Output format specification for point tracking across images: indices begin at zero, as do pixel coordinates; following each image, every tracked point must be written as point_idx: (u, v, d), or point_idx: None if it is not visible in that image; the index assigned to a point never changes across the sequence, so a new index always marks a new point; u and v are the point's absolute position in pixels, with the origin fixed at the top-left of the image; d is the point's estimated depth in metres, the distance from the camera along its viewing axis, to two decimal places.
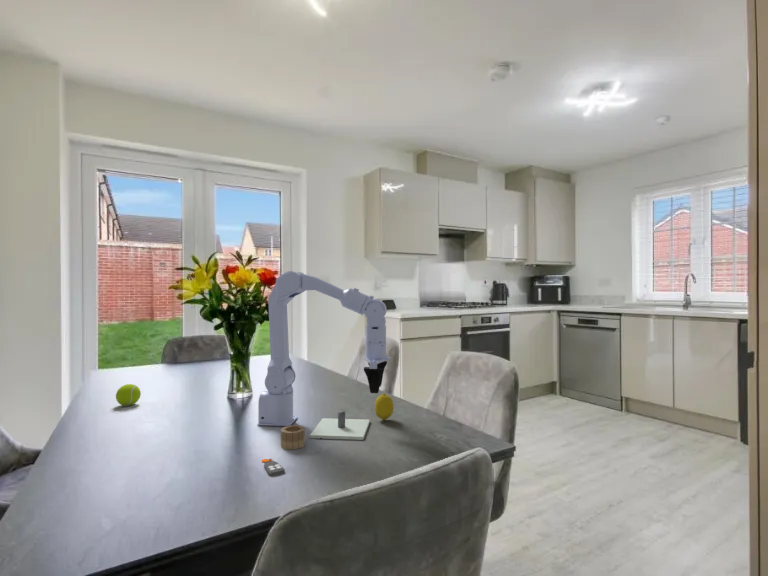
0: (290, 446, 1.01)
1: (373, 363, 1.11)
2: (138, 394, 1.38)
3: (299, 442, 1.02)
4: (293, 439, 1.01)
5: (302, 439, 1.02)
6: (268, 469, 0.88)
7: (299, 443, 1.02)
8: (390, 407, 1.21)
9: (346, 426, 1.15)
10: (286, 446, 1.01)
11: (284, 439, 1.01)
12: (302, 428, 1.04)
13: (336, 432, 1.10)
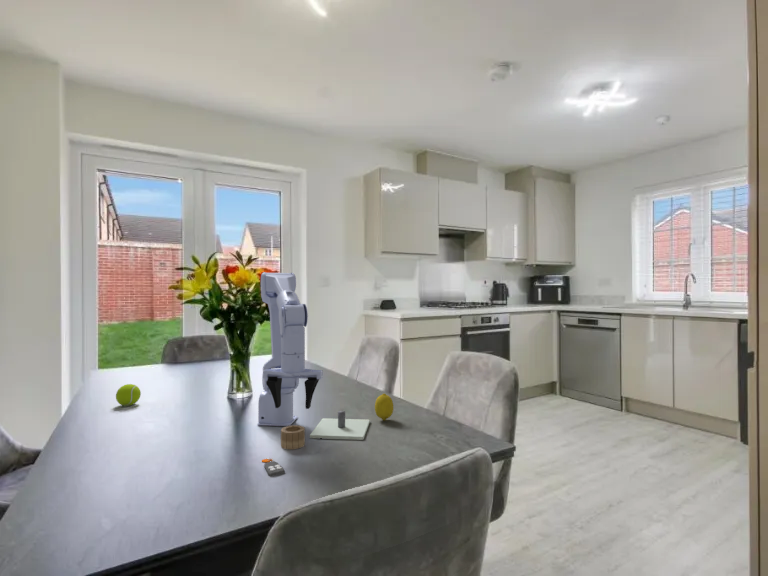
0: (290, 446, 1.01)
1: None
2: (138, 394, 1.38)
3: (299, 442, 1.02)
4: (293, 439, 1.01)
5: (302, 439, 1.02)
6: (268, 469, 0.88)
7: (299, 443, 1.02)
8: (390, 407, 1.21)
9: (346, 426, 1.15)
10: (286, 446, 1.01)
11: (284, 439, 1.01)
12: (302, 428, 1.04)
13: (336, 432, 1.10)
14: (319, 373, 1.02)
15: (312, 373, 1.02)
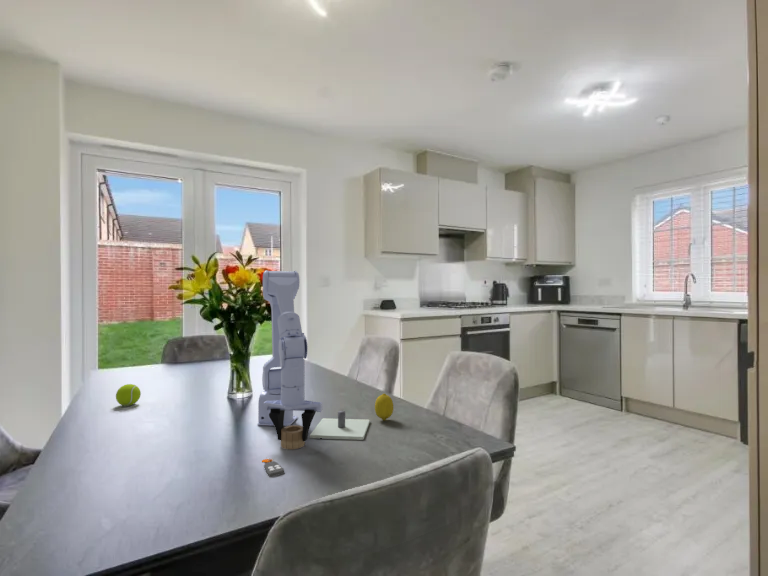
0: (290, 446, 1.01)
1: None
2: (138, 394, 1.38)
3: (299, 442, 1.02)
4: (293, 439, 1.01)
5: (302, 439, 1.02)
6: (268, 469, 0.88)
7: (299, 443, 1.02)
8: (390, 407, 1.21)
9: (346, 426, 1.15)
10: (286, 446, 1.01)
11: (284, 439, 1.01)
12: (302, 428, 1.04)
13: (336, 432, 1.10)
14: (319, 406, 1.02)
15: (312, 406, 1.02)
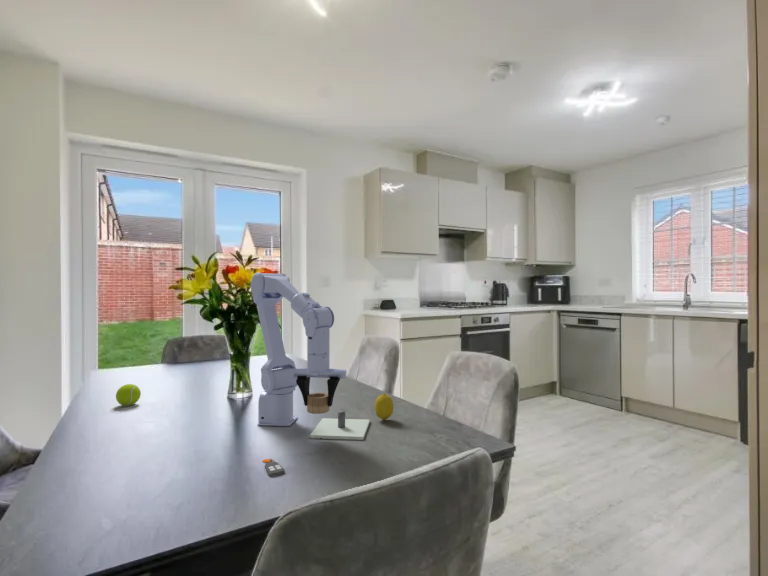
0: (316, 411, 1.06)
1: None
2: (138, 394, 1.38)
3: (324, 407, 1.07)
4: (319, 404, 1.06)
5: (327, 405, 1.08)
6: (268, 470, 0.88)
7: (324, 408, 1.07)
8: (390, 407, 1.21)
9: (346, 426, 1.15)
10: (312, 411, 1.06)
11: (310, 404, 1.07)
12: (327, 395, 1.09)
13: (336, 432, 1.10)
14: (343, 373, 1.07)
15: (337, 373, 1.07)
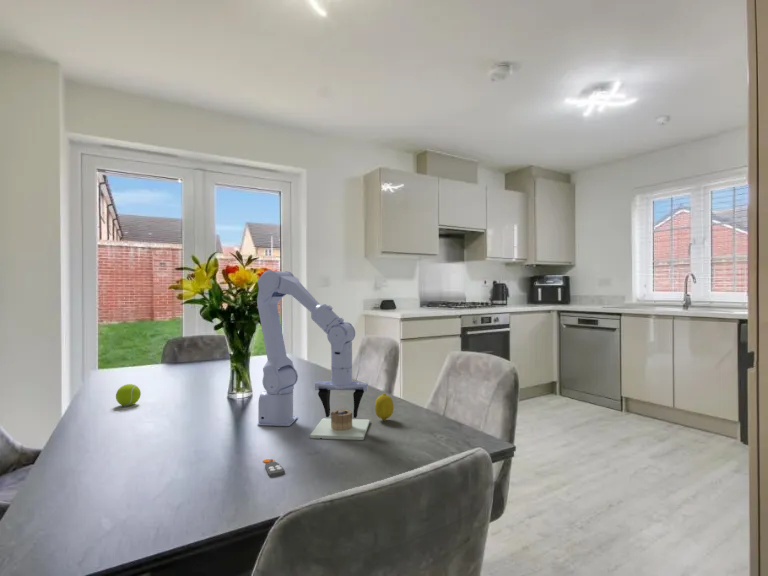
0: (340, 427, 1.12)
1: None
2: (138, 394, 1.38)
3: (348, 424, 1.13)
4: (343, 421, 1.12)
5: (350, 421, 1.13)
6: (268, 470, 0.88)
7: (348, 425, 1.13)
8: (390, 407, 1.21)
9: None
10: (337, 427, 1.12)
11: (334, 421, 1.12)
12: (350, 412, 1.15)
13: (336, 432, 1.10)
14: (366, 386, 1.13)
15: (359, 386, 1.13)
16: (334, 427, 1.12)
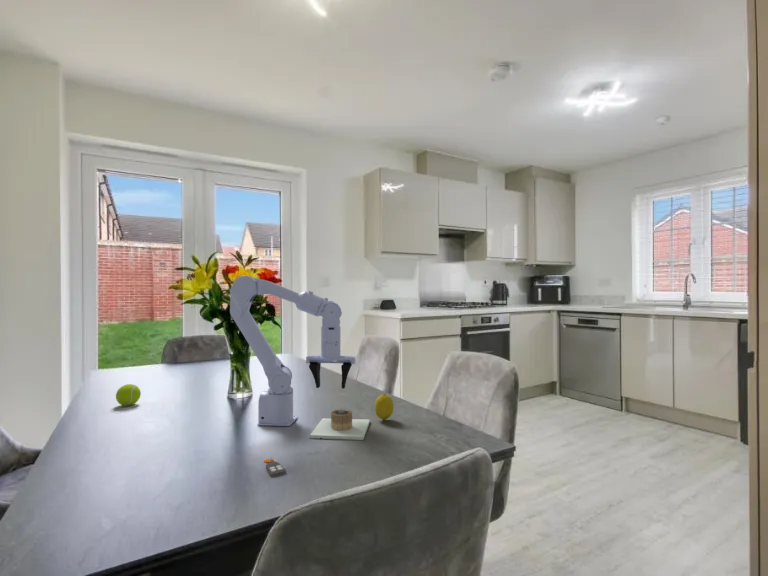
0: (340, 427, 1.12)
1: None
2: (138, 394, 1.38)
3: (348, 424, 1.13)
4: (343, 421, 1.12)
5: (350, 421, 1.13)
6: (269, 470, 0.88)
7: (348, 425, 1.13)
8: (390, 407, 1.21)
9: None
10: (337, 427, 1.12)
11: (334, 421, 1.12)
12: (350, 412, 1.15)
13: (336, 432, 1.10)
14: (353, 359, 1.22)
15: (347, 359, 1.22)
16: (334, 427, 1.12)
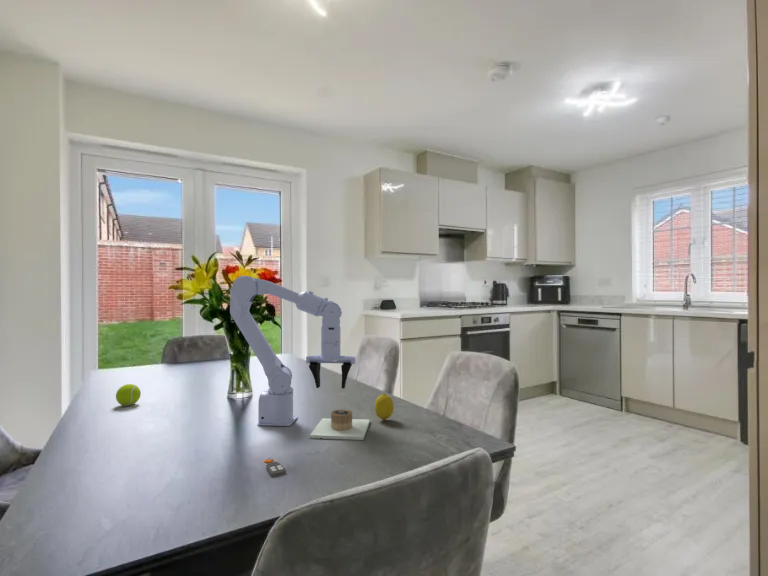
0: (340, 427, 1.12)
1: None
2: (138, 394, 1.38)
3: (348, 424, 1.13)
4: (343, 421, 1.12)
5: (350, 421, 1.13)
6: (270, 470, 0.88)
7: (348, 425, 1.13)
8: (390, 407, 1.21)
9: None
10: (337, 427, 1.12)
11: (334, 421, 1.12)
12: (350, 412, 1.15)
13: (336, 432, 1.10)
14: (353, 359, 1.22)
15: (347, 359, 1.22)
16: (334, 427, 1.12)
